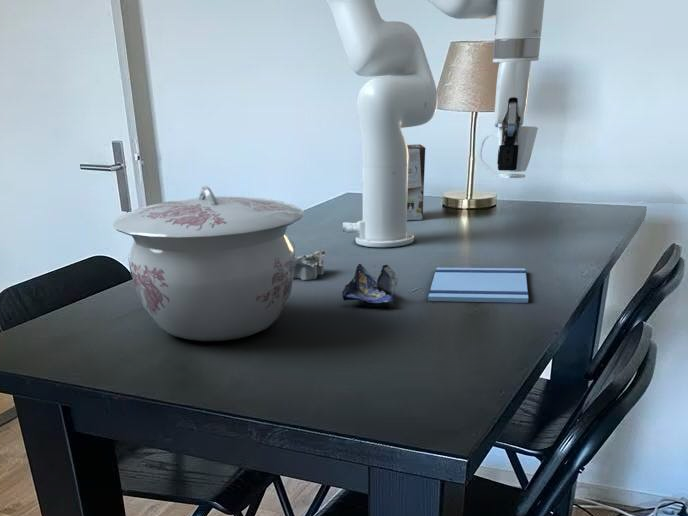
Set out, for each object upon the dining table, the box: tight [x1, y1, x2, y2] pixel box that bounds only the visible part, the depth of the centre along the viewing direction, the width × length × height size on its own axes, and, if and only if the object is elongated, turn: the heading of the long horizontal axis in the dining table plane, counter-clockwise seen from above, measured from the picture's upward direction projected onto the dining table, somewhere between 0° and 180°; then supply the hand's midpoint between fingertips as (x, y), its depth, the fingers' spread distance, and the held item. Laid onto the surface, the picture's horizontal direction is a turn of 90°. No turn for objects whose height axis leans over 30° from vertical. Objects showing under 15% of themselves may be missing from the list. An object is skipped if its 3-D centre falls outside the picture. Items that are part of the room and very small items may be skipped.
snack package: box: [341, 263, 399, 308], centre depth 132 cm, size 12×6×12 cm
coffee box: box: [407, 143, 426, 221], centre depth 192 cm, size 9×6×16 cm
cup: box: [478, 125, 539, 179], centre depth 141 cm, size 7×10×8 cm
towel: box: [427, 267, 529, 304], centre depth 138 cm, size 16×20×1 cm
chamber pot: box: [112, 185, 304, 343], centre depth 117 cm, size 28×28×21 cm
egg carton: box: [293, 250, 326, 281], centre depth 149 cm, size 11×8×4 cm
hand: (506, 166), depth 142 cm, fingers closed on cup, 6 cm apart
